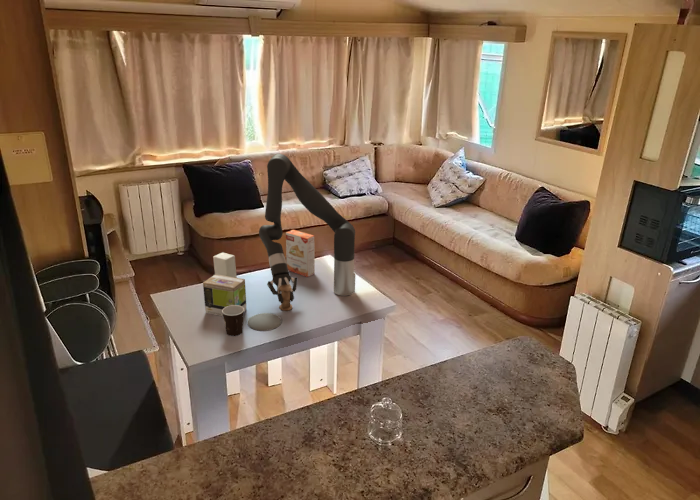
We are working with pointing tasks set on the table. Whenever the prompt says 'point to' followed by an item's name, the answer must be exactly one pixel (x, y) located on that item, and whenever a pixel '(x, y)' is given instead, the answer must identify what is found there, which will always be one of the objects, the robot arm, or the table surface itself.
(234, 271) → the skincare box
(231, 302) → the tea box
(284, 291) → the wooden turned knob
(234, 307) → the coffee mug
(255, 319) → the felt mat
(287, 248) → the cracker box
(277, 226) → the robot arm
